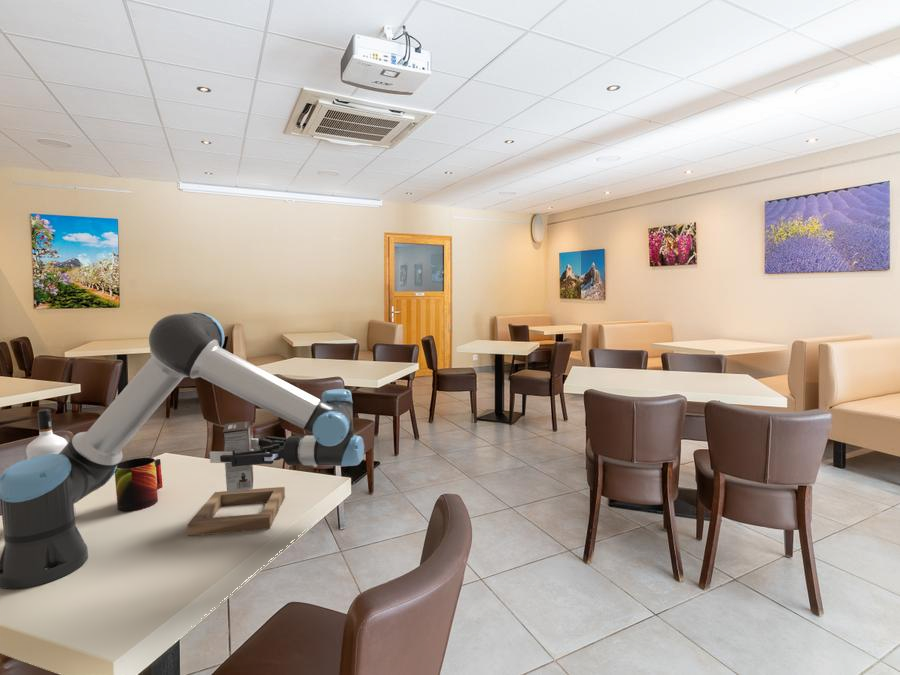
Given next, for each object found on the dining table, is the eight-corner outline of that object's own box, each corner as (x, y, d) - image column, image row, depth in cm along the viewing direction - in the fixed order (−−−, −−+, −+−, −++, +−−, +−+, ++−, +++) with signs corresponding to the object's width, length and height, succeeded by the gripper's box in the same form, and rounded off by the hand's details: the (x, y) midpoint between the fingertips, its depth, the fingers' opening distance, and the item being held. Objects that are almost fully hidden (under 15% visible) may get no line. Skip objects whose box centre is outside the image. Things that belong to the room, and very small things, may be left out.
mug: (163, 490, 149) (160, 451, 148) (154, 508, 136) (151, 465, 135) (125, 495, 145) (122, 456, 144) (113, 514, 132) (110, 471, 131)
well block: (269, 528, 122) (269, 517, 121) (188, 535, 119) (187, 523, 119) (285, 496, 141) (284, 486, 141) (215, 502, 139) (215, 492, 138)
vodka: (49, 515, 133) (39, 406, 130) (84, 513, 133) (75, 405, 131) (21, 531, 123) (9, 414, 121) (59, 529, 124) (48, 413, 121)
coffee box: (228, 481, 133) (224, 423, 131) (253, 477, 135) (250, 420, 134) (226, 493, 124) (222, 431, 123) (253, 489, 126) (249, 428, 125)
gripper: (284, 481, 115) (197, 480, 118) (321, 450, 138) (247, 450, 141) (282, 450, 115) (194, 449, 117) (319, 424, 138) (246, 424, 140)
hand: (223, 450), depth 129 cm, fingers closed on coffee box, 11 cm apart
